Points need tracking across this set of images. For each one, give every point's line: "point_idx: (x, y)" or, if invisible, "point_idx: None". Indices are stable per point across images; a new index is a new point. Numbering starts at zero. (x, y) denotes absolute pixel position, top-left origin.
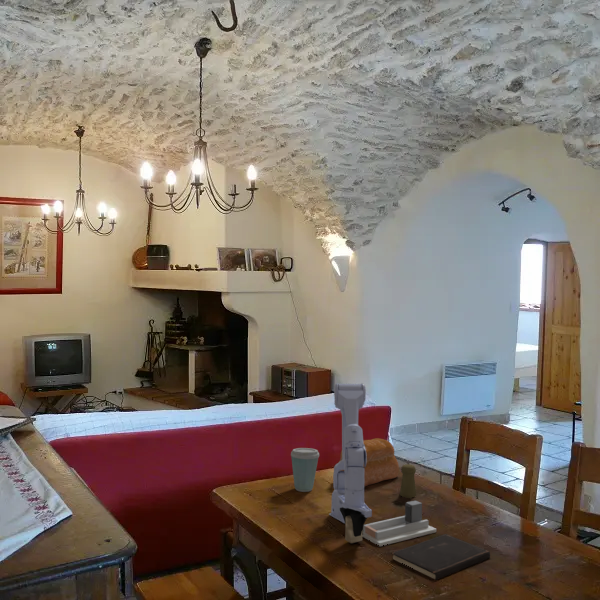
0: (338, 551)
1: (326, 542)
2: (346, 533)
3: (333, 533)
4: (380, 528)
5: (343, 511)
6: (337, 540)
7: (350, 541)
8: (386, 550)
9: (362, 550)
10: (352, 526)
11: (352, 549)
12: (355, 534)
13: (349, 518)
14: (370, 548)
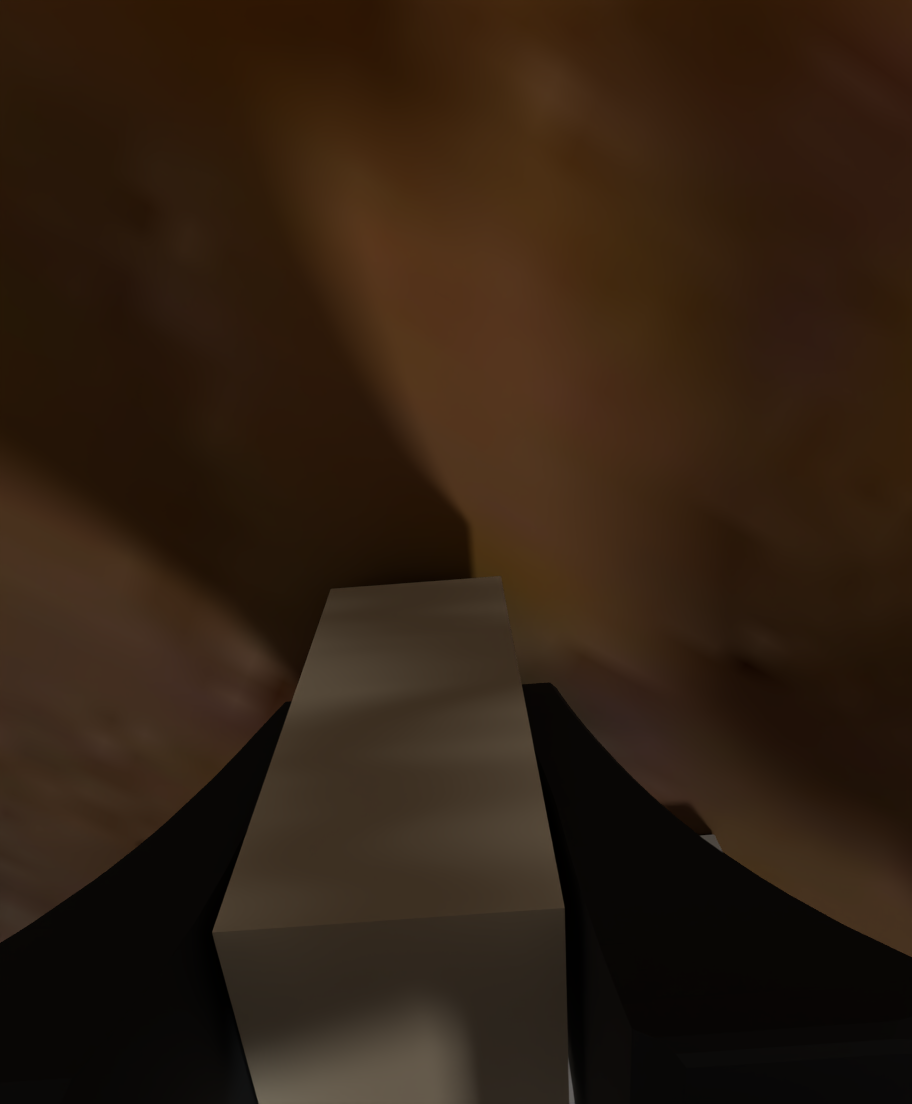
0: (206, 264)
1: (650, 266)
2: (474, 633)
3: (888, 566)
4: (569, 1101)
5: (627, 1032)
6: (623, 486)
7: (349, 596)
8: (39, 882)
9: (126, 633)
10: (273, 797)
11: (207, 523)
12: (266, 728)
13: (332, 924)
14: (158, 755)
